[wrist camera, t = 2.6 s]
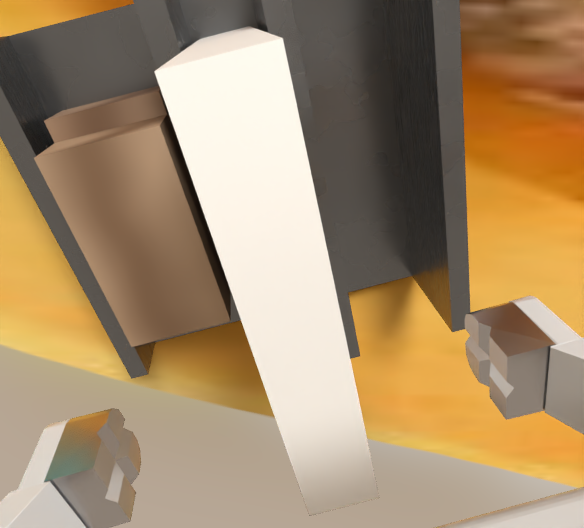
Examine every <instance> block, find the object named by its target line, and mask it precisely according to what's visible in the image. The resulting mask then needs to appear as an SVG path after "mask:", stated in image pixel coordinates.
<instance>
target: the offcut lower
mask: <svg viewBox="0 0 584 528" xmlns="http://www.w3.org/2000/svg"><path fill="white" fill-rule="evenodd" d="M165 114H167V116H168V118H169V121H170V124H171V127H172V130H173V133H174V136H175V138H176V141H177V144H178V147H179V150H180V153H181V155H182V158H183V161H184V164H185V167H186V170H187V173H188V175H189V178H190V181H191V184H192V187H193V190H194V192H195V195H196V198H197V201H198V204H199V207H200V210H201V212H202V215H203V218H204V221H205V224H206V227H207V230H208V232H209V235H210V238H211V241H212V244H213V247H214V249H215V252H216V255H217V258H218V261H219V264H220V267H221V269H222V272H223V275H224V278H225V281H226V284H227V287H228V289H229V292H230V295H231V290H230V287H229V284H228V281H227V279H226V276H225V273H224V270H223V267H222V264H221V261H220V258H219V256H218V253H217V250H216V247H215V244H214V241H213V238H212V236H211V233H210V230H209V227H208V224H207V221H206V218H205V215H204V213H203V210H202V207H201V204H200V201H199V198H198V195H197V192H196V190H195V187H194V184H193V181H192V178H191V175H190V172H189V170H188V167H187V164H186V161H185V158H184V155H183V152H182V149H181V147H180V144H179V141H178V138H177V135H176V132H175V129H174V127H173V124H172V121H171V118H170V115H169V112H168V109H167V106H166V104H165V101H164V98H163V95H162V92H161V89H160V86H156V87H152V88H148V89H144V90H140V91H136V92H133V93H129V94H125V95H121V96H117V97H113V98H109V99H106V100H102V101H98V102H94V103H90V104H86V105H82V106H78V107H75V108H71V109H67V110H63V111H61V112H59V113H57V114H55V115H54V116H52V117H50V118H48V119H46V120H44V122H45V124H46V126H47V128H48V131H49V133H50V135H51V137H52V139H53V141H54V143H57V142H61V141H65V140H69V139H73V138H77V137H80V136H84V135H88V134H92V133H96V132H100V131H104V130H107V129H111V128H115V127H119V126H123V125H127V124H131V123H134V122H138V121H142V120H146V119H150V118H154V117H158V116H161V115H165Z"/></svg>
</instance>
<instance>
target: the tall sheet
mask: <svg viewBox="0 0 584 528" xmlns="http://www.w3.org/2000/svg"><path fill="white" fill-rule="evenodd" d="M154 72H155V75H156V78H157V81H158V84H159V86H160V89H161V92H162V95H163V98H164V101H165V104H166V106H167V109H168V112H169V115H170V118H171V121H172V124H173V127H174V129H175V132H176V135H177V138H178V141H179V144H180V147H181V149H182V152H183V155H184V158H185V161H186V164H187V167H188V170H189V172H190V175H191V178H192V181H193V184H194V187H195V190H196V192H197V195H198V198H199V201H200V204H201V207H202V210H203V213H204V215H205V218H206V221H207V224H208V227H209V230H210V233H211V236H212V238H213V241H214V244H215V247H216V250H217V253H218V256H219V258H220V261H221V264H222V267H223V270H224V273H225V276H226V279H227V281H228V284H229V287H230V290H231V293H232V296H233V299H234V301H235V304H236V307H237V310H238V313H239V316H240V319H241V322H242V324H243V327H244V330H245V333H246V336H247V339H248V342H249V344H250V347H251V350H252V353H253V356H254V359H255V362H256V365H257V367H258V370H259V373H260V376H261V379H262V382H263V385H264V388H265V390H266V393H267V396H268V399H269V402H270V405H271V408H272V410H273V413H274V416H275V419H276V422H277V425H278V428H279V430H280V433H281V436H282V439H283V442H284V445H285V448H286V450H287V453H288V456H289V459H290V462H291V465H292V467H293V470H294V473H295V476H296V479H297V482H298V485H299V488H300V491H301V494H302V496H303V499H304V502H305V505H306V508H307V511H308V514H309V516H311V515H315V514H319V513H323V512H327V511H331V510H334V509H338V508H342V507H346V506H350V505H354V504H358V503H361V502H365V501H369V500H373V499H377V498H379V493H378V489H377V484H376V479H375V475H374V470H373V465H372V461H371V455H370V451H369V446H368V441H367V436H366V431H365V427H364V422H363V417H362V412H361V408H360V403H359V398H358V393H357V389H356V384H355V379H354V374H353V370H352V365H351V360H350V355H349V351H348V346H347V341H346V336H345V332H344V327H343V322H342V317H341V313H340V308H339V303H338V298H337V294H336V289H335V284H334V279H333V275H332V270H331V265H330V260H329V256H328V251H327V246H326V241H325V237H324V232H323V227H322V222H321V218H320V213H319V208H318V203H317V199H316V194H315V189H314V184H313V180H312V175H311V170H310V165H309V161H308V156H307V151H306V146H305V142H304V137H303V132H302V127H301V123H300V118H299V113H298V108H297V104H296V99H295V94H294V89H293V85H292V80H291V75H290V70H289V66H288V61H287V56H286V51H285V47H284V42H283V38H281V37H278V36H275V35H273V34H270V33H267V32H264V31H262V30H259V29H256V28H253V27H250V26H248V27H244V28H240V29H236V30H232V31H229V32H225V33H221V34H217V35H213V36H209V37H205V38H202V39H199V40H198V41H196V42H195V43H193V44H192V45H191V46H189V47H188V48H186V49H185V50H184V51H182V52H181V53H179V54H178V55H177V56H175V57H174V58H172V59H171V60H170V61H168V62H167V63H165V64H164V65H163V66H161V67H160V68H158V69H157V70H155V71H154Z"/></svg>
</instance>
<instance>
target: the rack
mask: <svg viewBox="0 0 584 528" xmlns="http://www.w3.org/2000/svg"><path fill="white" fill-rule="evenodd" d="M133 1H134V4H131V5H127V6H123V7H120V8H116V9H112V10H108V11H104V12H100V13H96V14H93V15H89V16H85V17H81V18H77V19H73V20H69V21H66V22H62V23H58V24H54V25H50V26H46V27H42V28H39V29H35V30H31V31H27V32H23V33H19V34H15V35H12V36H6V37H0V137H1V139H2V140H3V142H4V144H5V146H6V148H7V150H8V151H9V153H10V155H11V157H12V159H13V161H14V163H15V164H16V166H17V168H18V170H19V172H20V174H21V175H22V177H23V179H24V181H25V183H26V185H27V187H28V188H29V190H30V192H31V194H32V196H33V198H34V199H35V201H36V203H37V205H38V207H39V209H40V211H41V212H42V214H43V216H44V218H45V220H46V222H47V223H48V225H49V227H50V229H51V231H52V233H53V235H54V236H55V238H56V240H57V242H58V244H59V246H60V247H61V249H62V251H63V253H64V255H65V257H66V259H67V260H68V262H69V264H70V266H71V268H72V270H73V271H74V273H75V275H76V277H77V279H78V281H79V283H80V284H81V286H82V288H83V290H84V292H85V294H86V295H87V297H88V299H89V301H90V303H91V305H92V307H93V308H94V310H95V312H96V314H97V316H98V318H99V319H100V321H101V323H102V325H103V327H104V329H105V331H106V332H107V334H108V336H109V338H110V340H111V342H112V343H113V345H114V347H115V349H116V351H117V353H118V355H119V356H120V358H121V360H122V362H123V364H124V366H125V367H126V369H127V371H128V373H129V375H130V377H131V379H132V378H136V377H140V376H143V375H147V374H148V373H149V368H150V364H151V359H152V355H153V350H154V346H155V342H158V341H162V340H166V339H170V338H174V337H178V336H181V335H185V334H189V333H193V332H197V331H201V330H205V329H208V328H212V327H216V326H220V325H224V324H228V323H232V322H235V321H239V320H241V319H240V316H239V313H238V310H237V307H236V304H235V301H234V299H233V296H232V293H231V321H230V322H227V323H223V324H219V325H215V326H211V327H207V328H203V329H200V330H196V331H192V332H188V333H184V334H180V335H176V336H173V337H169V338H165V339H161V340H157V341H153V342H149V343H146V344H142V345H138V346H134V347H131V345H130V343H129V341H128V339H127V337H126V335H125V334H124V332H123V330H122V328H121V326H120V324H119V322H118V320H117V318H116V316H115V314H114V312H113V310H112V308H111V306H110V305H109V303H108V301H107V299H106V297H105V295H104V293H103V291H102V289H101V287H100V285H99V283H98V281H97V279H96V277H95V276H94V274H93V272H92V270H91V268H90V266H89V264H88V262H87V260H86V258H85V256H84V254H83V252H82V250H81V248H80V247H79V245H78V243H77V241H76V239H75V237H74V235H73V233H72V231H71V229H70V227H69V225H68V223H67V221H66V219H65V218H64V216H63V214H62V212H61V210H60V208H59V206H58V204H57V202H56V200H55V198H54V196H53V194H52V192H51V191H50V189H49V187H48V185H47V183H46V181H45V179H44V177H43V175H42V173H41V171H40V169H39V167H38V165H37V163H36V162H35V160H34V158H35V157H36V156H37V155H39V154H40V153H42V152H43V151H44V150H46V149H47V148H49V147H50V146H51V145H53V144H54V141H53V139H52V137H51V135H50V133H49V131H48V128H47V126H46V124H45V122H44V120H46V119H48V118H50V117H52V116H54V115H55V114H57V113H59V112H61V111H63V110H67V109H71V108H75V107H78V106H82V105H86V104H90V103H94V102H98V101H102V100H106V99H109V98H113V97H117V96H121V95H125V94H129V93H133V92H136V91H140V90H144V89H148V88H152V87H156V86H159V84H158V81H157V78H156V75H155V72H154V71H155V70H157V69H158V68H160V67H161V66H163V65H164V64H165V63H167V62H168V61H170V60H171V59H172V58H174V57H175V56H177V55H178V54H179V53H181V52H182V51H184V50H185V49H186V48H188V47H189V46H191V45H192V44H193V43H195V42H196V41H198V40H199V39H202V38H205V37H209V36H213V35H217V34H221V33H225V32H229V31H232V30H236V29H240V28H244V27H248V26H250V27H253V28H256V29H259V30H262V31H264V32H267V33H270V34H273V35H275V36H278V37H281V38H283V42H284V47H285V51H286V56H287V61H288V66H289V70H290V75H291V80H292V85H293V89H294V94H295V99H296V104H297V108H298V113H299V118H300V123H301V127H302V132H303V137H304V142H305V146H306V151H307V156H308V161H309V165H310V170H311V175H312V180H313V184H314V189H315V194H316V199H317V203H318V208H319V213H320V218H321V222H322V227H323V232H324V237H325V241H326V246H327V251H328V256H329V260H330V265H331V270H332V275H333V279H334V284H335V289H336V294H337V298H338V303H339V308H340V313H341V317H342V322H343V327H344V332H345V336H346V341H347V346H348V351H349V355H350V359H351V358H355V357H359V356H360V352H359V347H358V342H357V337H356V332H355V326H354V321H353V316H352V311H351V306H350V301H349V296H348V292H351V291H355V290H359V289H363V288H367V287H371V286H374V285H378V284H382V283H386V282H390V281H394V280H398V279H401V278H405V277H409V276H413V278H414V279H415V281H416V282H417V283H418V285H419V286H420V288H421V289H422V290H423V292H424V293H425V295H426V296H427V297H428V299H429V300H430V302H431V303H432V304H433V306H434V307H435V309H436V310H437V311H438V313H439V314H440V316H441V317H442V318H443V320H444V321H445V323H446V324H447V325H448V327H449V328H450V330H451V331H452V332H455V331H459V330H463V329H465V316H466V314H467V313H470V291H469V263H468V234H467V205H466V176H465V148H464V119H463V90H462V61H461V33H460V4H459V0H133Z"/></svg>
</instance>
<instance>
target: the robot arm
mask: <svg viewBox="0 0 584 528" xmlns="http://www.w3.org/2000/svg"><path fill="white" fill-rule="evenodd" d="M465 329H466V330H467V332H468V333H469V334H470V337H469V338H468V340H467V341H466V343H465V345H466V355H467V358H468V362H469V365H470V367H471V369H472V371H473V373H474V375H475V376H476V378H477V379H478V381H479V382H480V383H482V384H484V385H486V386H489V387H490V398H491V399H492V401H493V402H494V403H495V405H496V406H497V408H498V409H499V410H500V412H501V413H502V415H503V416H504V417H505V419H506V420H507V419H511V418H515V417H519V416H523V415H527V414H532V413H536V412H540V411H544V410H545V413H547V414H549V415H550V416H552V417H554V418H556V419H557V420H559V421H561V422H563V423H565V424H566V425H568V426H570V427H572V428H573V429H575V430H577V431H579V432H580V433H582V434H584V338H581V337H580V336H579V335H578V334H577V333H576V332H575V331H573V330H572V329H571V328H570V327H569V326H568V325H567V324H566V323H564V322H563V321H562V320H561V319H560V318H559V317H558V316H556V315H555V314H554V313H553V312H552V311H551V310H550V309H548V308H547V307H546V306H545V305H544V304H543V303H542V302H540V301H539V300H538V299H537V298H536V297H533V296H527V297H523V298H520V299H516V300H513V301H509V302H508V303H504V304H500V305H496V306H493V307H489V308H486V309H482V310H478V311H475V312H471V313H467V314H466V316H465ZM124 421H125V419H124V417H123V415H122V414H121V412H120V411H119V410H118V409H109V410H104V411H100V412H96V413H92V414H88V415H84V416H80V417H76V418H72V419H70V420H65V421H61V422H57V423H53V424H49V425H48V426H47V427H46V428H45V429H44V430H43V432H42V435H41V437H40V439H39V442H38V444H37V446H36V448H35V451H34V453H33V455H32V458H31V460H30V462H29V465H28V467H27V469H26V471H25V474H24V476H23V478H22V481H21V483H20V485H19V488H18V490H15V491H12V492H10V493H9V494H8V495H7V496H6V497H5V498H4V499H3V500H2V501H1V502H0V528H109V527H113V526H116V525H120V524H123V523H126V522H130V521H131V516H132V511H133V505H134V499H135V494H136V492H135V490H134V489H133V487H132V486H131V484H132V483H133V481H134V480H135V479H136V477H137V476H138V475H139V472H140V465H141V457H140V448H139V444H138V441H137V439H136V437H135V436H134V434H133V432H131V431H129V430H127V429H125V428H123V425H124ZM435 528H584V487H581V488H578V489H574V490H570V491H567V492H563V493H560V494H556V495H552V496H549V497H545V498H541V499H538V500H534V501H530V502H526V503H523V504H519V505H515V506H512V507H508V508H505V509H501V510H497V511H493V512H490V513H486V514H482V515H479V516H475V517H472V518H468V519H464V520H461V521H457V522H453V523H450V524H446V525H442V526H439V527H435Z"/></svg>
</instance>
